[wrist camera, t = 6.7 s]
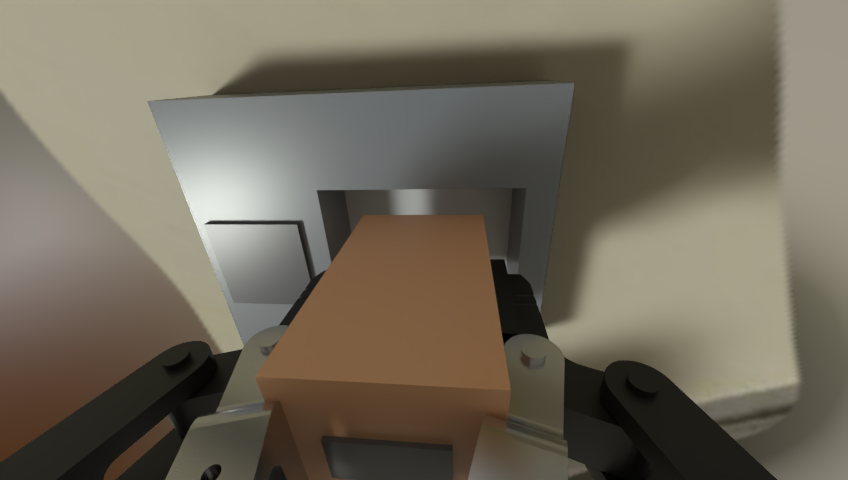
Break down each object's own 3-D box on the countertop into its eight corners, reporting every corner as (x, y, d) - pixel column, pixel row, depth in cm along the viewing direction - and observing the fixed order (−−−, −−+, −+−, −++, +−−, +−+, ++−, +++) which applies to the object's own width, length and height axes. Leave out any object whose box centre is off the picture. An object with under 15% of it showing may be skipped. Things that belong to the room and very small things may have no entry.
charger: (363, 215, 12) (251, 381, 5) (482, 214, 11) (512, 396, 5) (376, 308, 14) (304, 511, 7) (479, 311, 13) (496, 530, 7)
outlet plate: (210, 95, 13) (141, 101, 10) (548, 80, 12) (576, 83, 9) (282, 326, 18) (251, 373, 16) (518, 335, 17) (530, 387, 14)
